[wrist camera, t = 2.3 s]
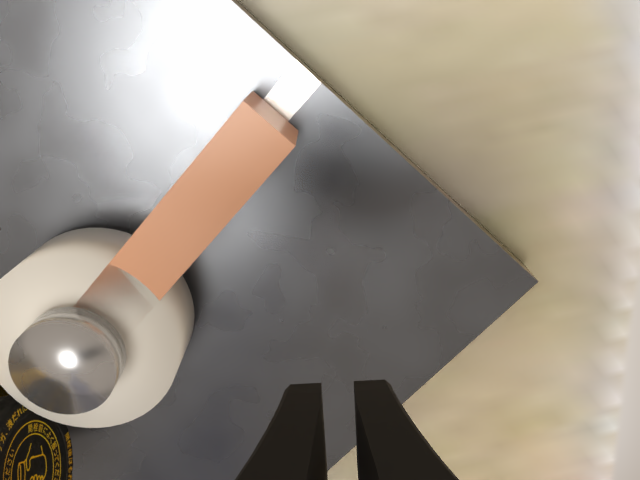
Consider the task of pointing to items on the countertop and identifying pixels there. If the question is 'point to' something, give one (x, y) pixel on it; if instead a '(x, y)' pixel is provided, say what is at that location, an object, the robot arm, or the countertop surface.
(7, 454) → the condiment
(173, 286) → the collar
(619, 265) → the countertop surface
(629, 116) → the countertop surface
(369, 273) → the base
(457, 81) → the countertop surface
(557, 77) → the countertop surface
